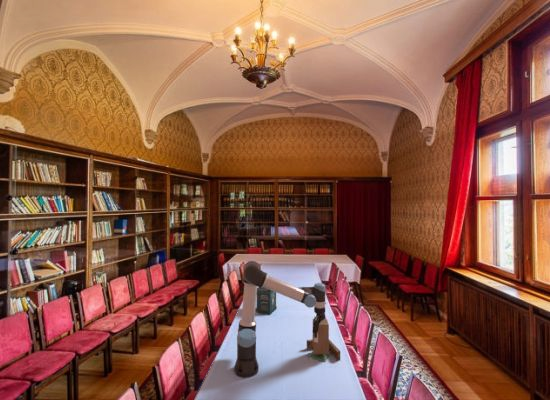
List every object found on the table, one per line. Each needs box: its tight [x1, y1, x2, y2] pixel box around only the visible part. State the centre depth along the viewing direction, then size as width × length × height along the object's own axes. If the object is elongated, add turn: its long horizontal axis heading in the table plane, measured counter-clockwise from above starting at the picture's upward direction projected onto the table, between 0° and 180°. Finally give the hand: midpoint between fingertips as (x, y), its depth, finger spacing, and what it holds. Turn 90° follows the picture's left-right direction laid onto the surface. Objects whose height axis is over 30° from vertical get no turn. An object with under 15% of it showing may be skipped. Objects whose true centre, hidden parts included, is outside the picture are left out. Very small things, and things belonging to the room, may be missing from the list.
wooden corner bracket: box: [306, 338, 341, 361], centre depth 206 cm, size 16×20×6 cm
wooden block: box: [312, 318, 330, 354], centre depth 204 cm, size 10×10×20 cm
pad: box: [307, 350, 332, 363], centre depth 204 cm, size 12×12×1 cm
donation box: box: [255, 286, 278, 316], centre depth 283 cm, size 16×16×28 cm
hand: (319, 337), depth 204 cm, fingers closed on wooden block, 13 cm apart
